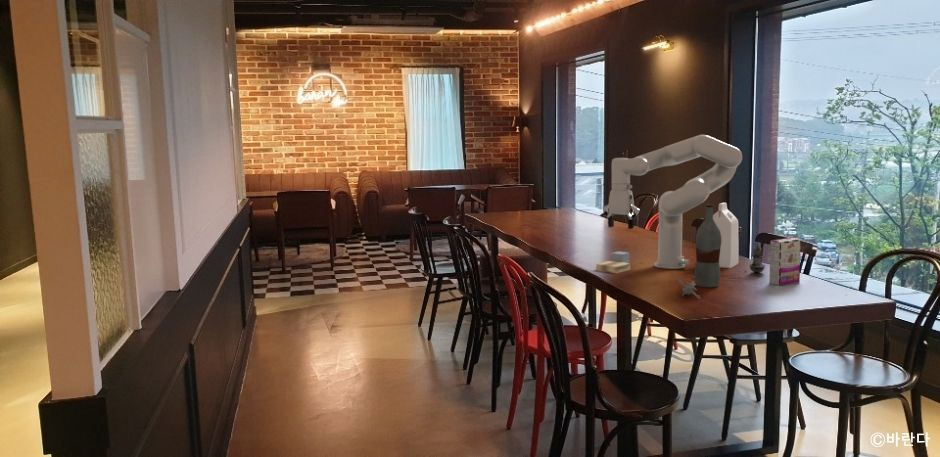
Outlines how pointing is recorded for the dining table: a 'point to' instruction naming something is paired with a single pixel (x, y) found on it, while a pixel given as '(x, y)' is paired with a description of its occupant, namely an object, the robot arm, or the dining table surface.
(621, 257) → the slate cube
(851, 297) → the dining table surface
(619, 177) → the robot arm
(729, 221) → the milk
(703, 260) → the bottle
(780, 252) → the candy bar box
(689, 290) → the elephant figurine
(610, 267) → the beech block
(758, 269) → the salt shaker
